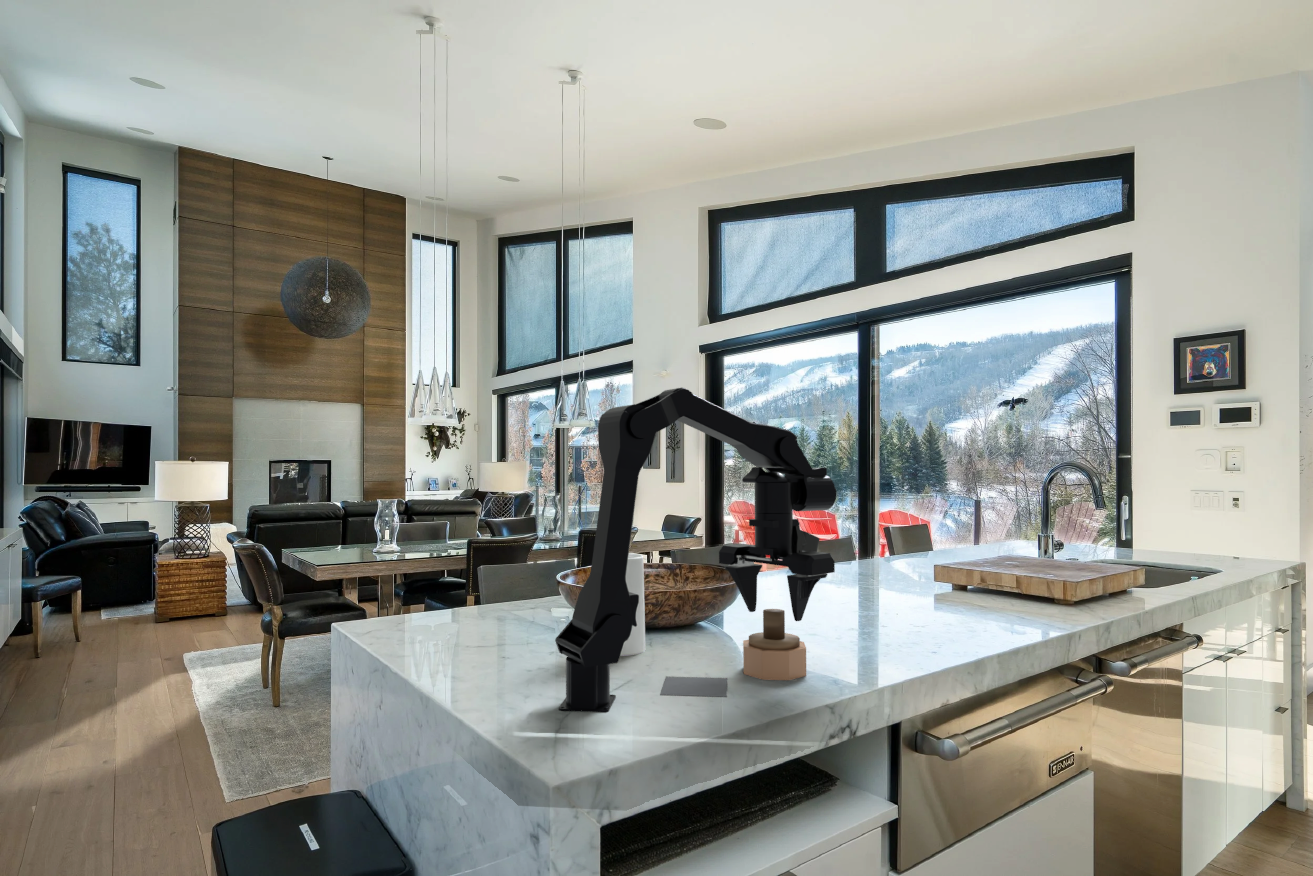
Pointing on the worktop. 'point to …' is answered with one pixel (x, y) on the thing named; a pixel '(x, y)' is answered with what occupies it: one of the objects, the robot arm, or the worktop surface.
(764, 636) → the lid
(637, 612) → the cup
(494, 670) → the worktop surface
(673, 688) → the mat
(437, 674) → the worktop surface
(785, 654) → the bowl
